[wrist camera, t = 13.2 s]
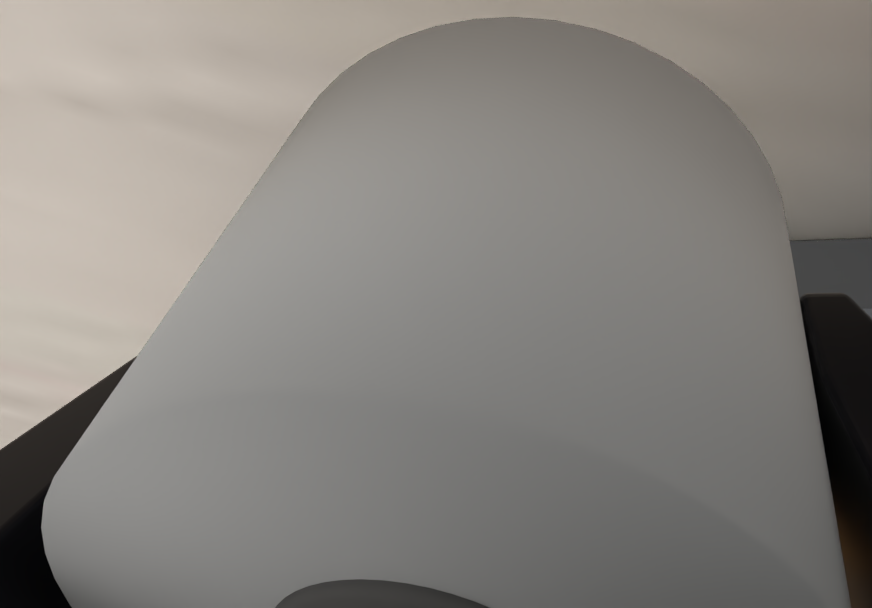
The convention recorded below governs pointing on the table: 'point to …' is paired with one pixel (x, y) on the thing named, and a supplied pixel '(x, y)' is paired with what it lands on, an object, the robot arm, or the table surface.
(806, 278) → the cable rack
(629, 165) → the gray short cylinder
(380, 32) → the table surface
